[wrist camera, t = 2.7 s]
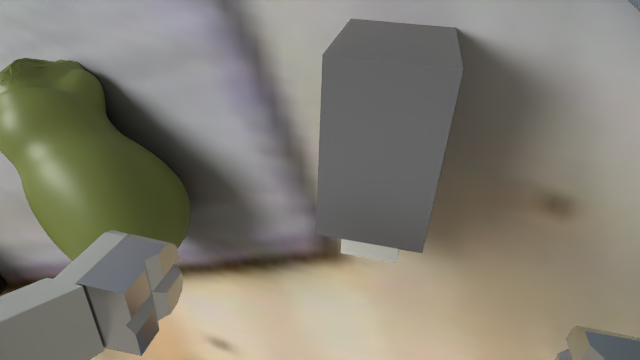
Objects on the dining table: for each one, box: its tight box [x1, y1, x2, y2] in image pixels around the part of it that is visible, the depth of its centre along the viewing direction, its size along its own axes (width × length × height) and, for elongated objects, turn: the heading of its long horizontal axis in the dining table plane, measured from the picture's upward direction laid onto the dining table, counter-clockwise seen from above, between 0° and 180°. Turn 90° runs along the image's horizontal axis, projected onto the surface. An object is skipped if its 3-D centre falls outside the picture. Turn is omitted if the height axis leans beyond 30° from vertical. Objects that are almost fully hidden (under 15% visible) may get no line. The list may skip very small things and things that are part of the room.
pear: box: [0, 58, 191, 261], centre depth 18 cm, size 6×5×10 cm
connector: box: [316, 19, 464, 263], centre depth 15 cm, size 8×4×4 cm, turn 178°
